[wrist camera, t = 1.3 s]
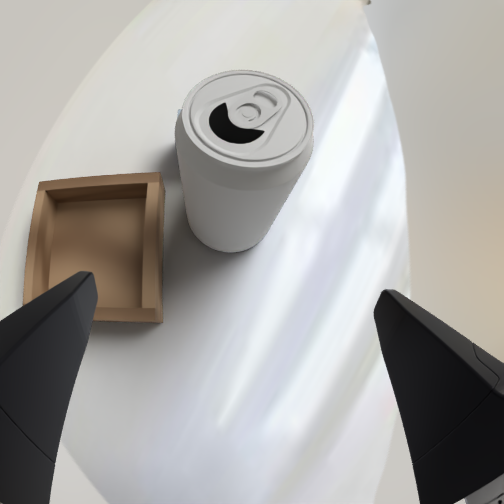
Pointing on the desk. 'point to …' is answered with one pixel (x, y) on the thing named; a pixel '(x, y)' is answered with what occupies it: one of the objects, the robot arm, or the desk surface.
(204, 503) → the desk surface
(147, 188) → the tray
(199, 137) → the beverage can
